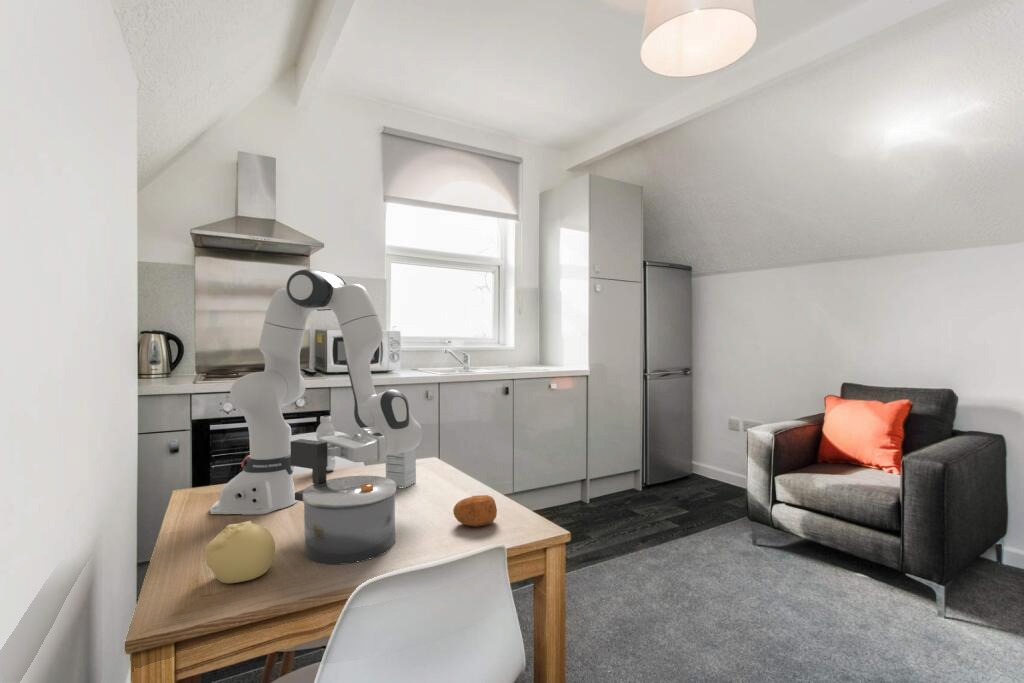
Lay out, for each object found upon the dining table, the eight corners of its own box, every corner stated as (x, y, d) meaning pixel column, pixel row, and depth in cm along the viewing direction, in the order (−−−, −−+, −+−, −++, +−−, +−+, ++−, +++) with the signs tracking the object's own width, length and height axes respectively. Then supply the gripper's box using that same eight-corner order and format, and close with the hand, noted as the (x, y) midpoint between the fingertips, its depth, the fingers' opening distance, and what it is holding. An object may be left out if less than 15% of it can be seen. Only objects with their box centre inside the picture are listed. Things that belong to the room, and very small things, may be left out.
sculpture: (228, 564, 106) (227, 513, 106) (284, 563, 107) (284, 513, 107) (194, 591, 95) (194, 534, 95) (258, 590, 95) (257, 533, 95)
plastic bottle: (329, 473, 178) (329, 418, 178) (312, 472, 179) (312, 417, 179) (339, 469, 184) (338, 415, 184) (322, 468, 186) (322, 414, 186)
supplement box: (397, 480, 169) (397, 443, 169) (416, 482, 166) (416, 445, 166) (385, 486, 162) (384, 448, 162) (404, 489, 159) (404, 449, 159)
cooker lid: (413, 486, 120) (413, 441, 120) (351, 513, 102) (351, 460, 102) (328, 473, 133) (327, 433, 133) (259, 495, 114) (258, 448, 114)
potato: (497, 531, 124) (496, 501, 123) (451, 532, 123) (451, 502, 123) (496, 518, 133) (496, 490, 133) (454, 519, 132) (454, 491, 132)
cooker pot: (412, 537, 120) (412, 487, 120) (351, 571, 102) (350, 513, 102) (331, 519, 132) (331, 474, 132) (264, 547, 114) (263, 495, 114)
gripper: (348, 427, 140) (299, 434, 130) (388, 436, 126) (336, 446, 116) (348, 449, 141) (299, 458, 130) (388, 461, 126) (337, 472, 116)
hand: (317, 452), depth 123 cm, fingers closed
